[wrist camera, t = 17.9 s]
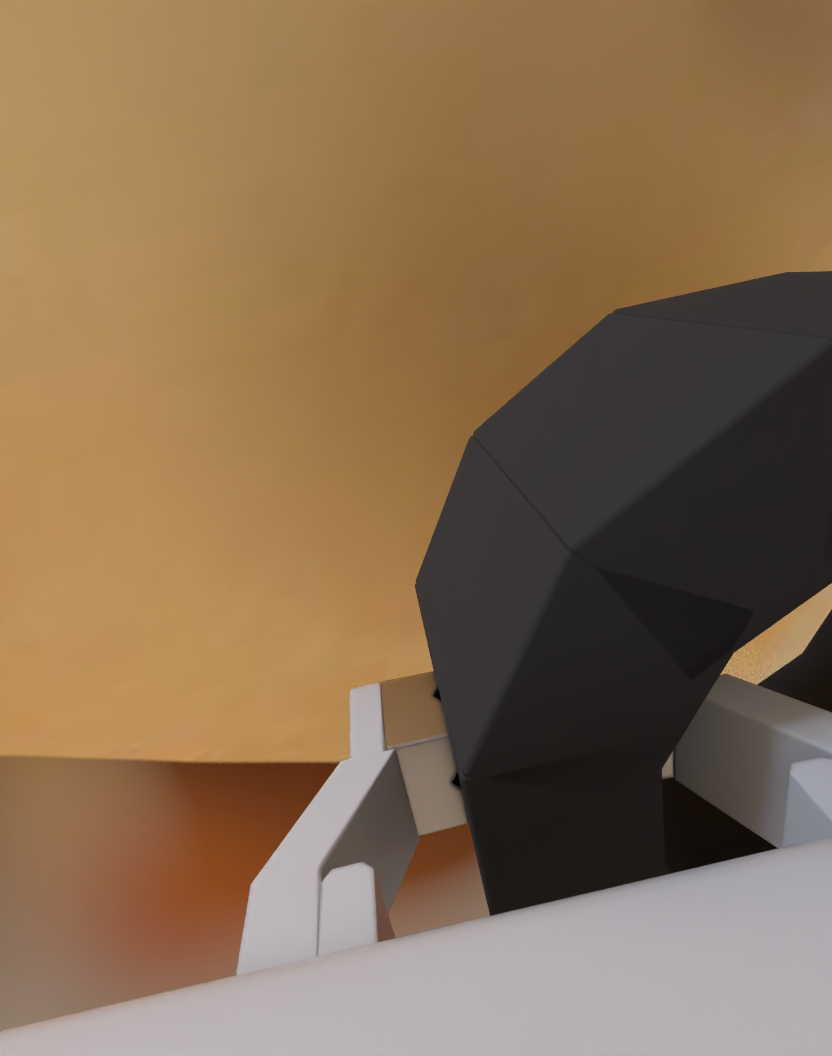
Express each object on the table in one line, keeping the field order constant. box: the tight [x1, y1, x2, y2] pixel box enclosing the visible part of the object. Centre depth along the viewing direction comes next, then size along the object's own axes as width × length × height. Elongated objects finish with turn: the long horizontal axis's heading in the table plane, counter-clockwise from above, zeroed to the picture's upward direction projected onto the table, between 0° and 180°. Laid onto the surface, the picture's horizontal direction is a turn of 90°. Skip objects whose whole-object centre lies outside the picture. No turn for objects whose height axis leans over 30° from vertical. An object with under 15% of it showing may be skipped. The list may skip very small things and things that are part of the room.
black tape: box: [415, 271, 832, 916], centre depth 10 cm, size 11×11×5 cm
